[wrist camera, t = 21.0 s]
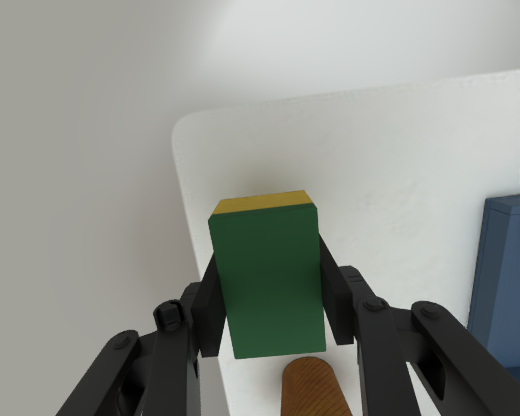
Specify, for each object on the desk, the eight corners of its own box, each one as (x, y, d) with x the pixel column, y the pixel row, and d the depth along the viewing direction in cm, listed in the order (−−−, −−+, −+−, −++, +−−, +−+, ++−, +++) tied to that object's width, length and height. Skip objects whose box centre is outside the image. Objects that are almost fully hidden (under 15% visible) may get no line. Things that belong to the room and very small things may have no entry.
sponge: (220, 199, 16) (207, 220, 12) (304, 189, 16) (317, 207, 12) (240, 314, 19) (234, 360, 15) (313, 306, 18) (326, 352, 15)
